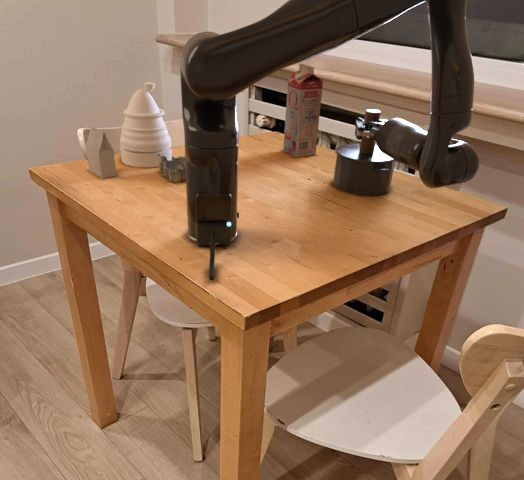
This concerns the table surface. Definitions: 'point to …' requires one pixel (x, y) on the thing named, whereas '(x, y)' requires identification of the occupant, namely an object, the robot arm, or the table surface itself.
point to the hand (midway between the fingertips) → (365, 121)
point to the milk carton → (302, 112)
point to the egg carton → (173, 168)
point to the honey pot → (144, 131)
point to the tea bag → (100, 154)
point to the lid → (364, 146)
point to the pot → (362, 177)
